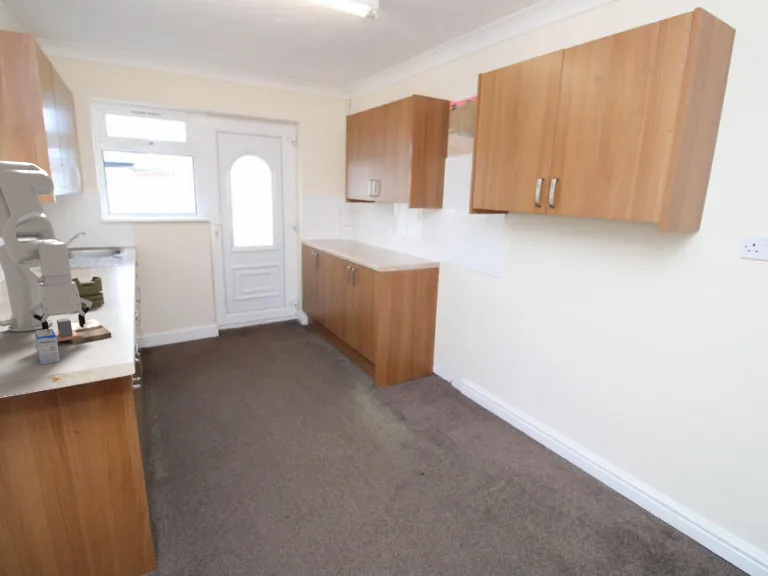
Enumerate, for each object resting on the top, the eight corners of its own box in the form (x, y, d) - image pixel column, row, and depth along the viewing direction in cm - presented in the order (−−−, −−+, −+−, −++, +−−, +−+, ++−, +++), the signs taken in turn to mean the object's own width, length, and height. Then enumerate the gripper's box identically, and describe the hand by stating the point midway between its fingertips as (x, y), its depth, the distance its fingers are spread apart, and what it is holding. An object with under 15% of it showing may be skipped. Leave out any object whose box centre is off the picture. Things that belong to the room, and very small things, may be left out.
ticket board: (73, 344, 138) (72, 337, 138) (61, 330, 152) (60, 324, 151) (111, 336, 146) (110, 330, 146) (96, 324, 159) (95, 318, 159)
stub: (41, 344, 133) (38, 327, 132) (37, 339, 138) (35, 322, 136) (79, 337, 140) (76, 321, 139) (74, 332, 145) (72, 316, 143)
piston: (69, 278, 185) (99, 275, 192) (73, 304, 187) (103, 300, 194) (70, 282, 176) (102, 279, 183) (74, 309, 179) (105, 305, 185)
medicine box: (38, 357, 126) (33, 330, 125) (56, 354, 129) (52, 327, 128) (41, 365, 121) (36, 337, 119) (60, 361, 124) (56, 334, 122)
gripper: (24, 285, 127) (33, 338, 131) (91, 278, 140) (98, 326, 143) (21, 281, 132) (30, 332, 136) (86, 274, 145) (92, 322, 148)
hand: (64, 329), depth 140 cm, fingers open, 9 cm apart
